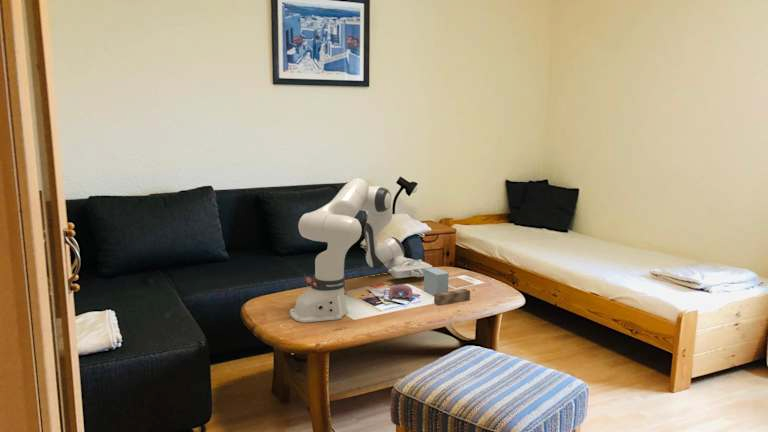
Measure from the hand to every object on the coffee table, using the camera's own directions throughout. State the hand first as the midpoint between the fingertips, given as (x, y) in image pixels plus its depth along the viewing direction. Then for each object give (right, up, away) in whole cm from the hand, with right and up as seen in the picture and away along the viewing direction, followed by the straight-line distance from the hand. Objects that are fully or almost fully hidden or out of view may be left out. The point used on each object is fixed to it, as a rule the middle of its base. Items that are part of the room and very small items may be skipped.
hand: (420, 275), depth 259 cm
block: (+6, -7, -10) cm, 13 cm away
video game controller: (-10, -8, -18) cm, 22 cm away
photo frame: (+19, -5, +6) cm, 20 cm away
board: (+12, -9, -21) cm, 25 cm away
